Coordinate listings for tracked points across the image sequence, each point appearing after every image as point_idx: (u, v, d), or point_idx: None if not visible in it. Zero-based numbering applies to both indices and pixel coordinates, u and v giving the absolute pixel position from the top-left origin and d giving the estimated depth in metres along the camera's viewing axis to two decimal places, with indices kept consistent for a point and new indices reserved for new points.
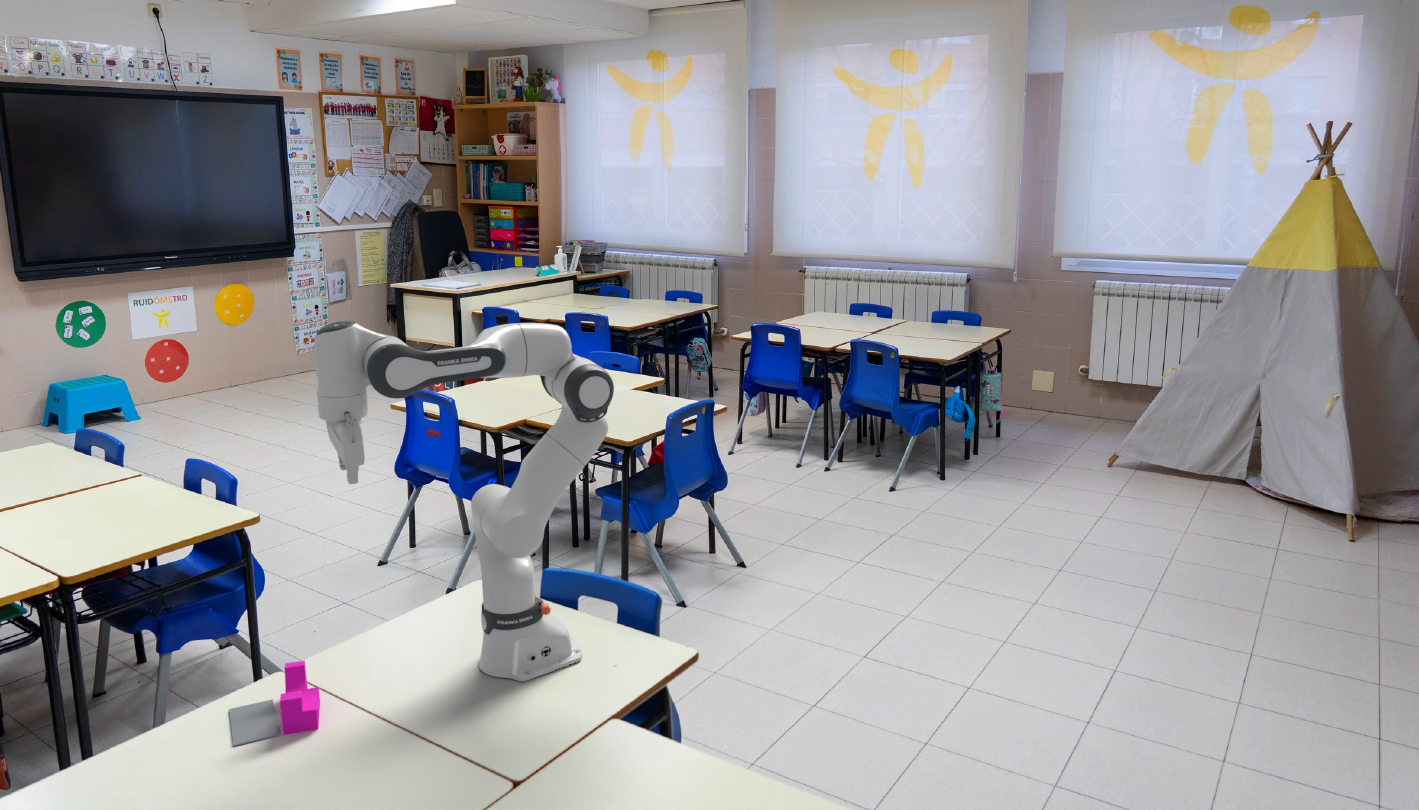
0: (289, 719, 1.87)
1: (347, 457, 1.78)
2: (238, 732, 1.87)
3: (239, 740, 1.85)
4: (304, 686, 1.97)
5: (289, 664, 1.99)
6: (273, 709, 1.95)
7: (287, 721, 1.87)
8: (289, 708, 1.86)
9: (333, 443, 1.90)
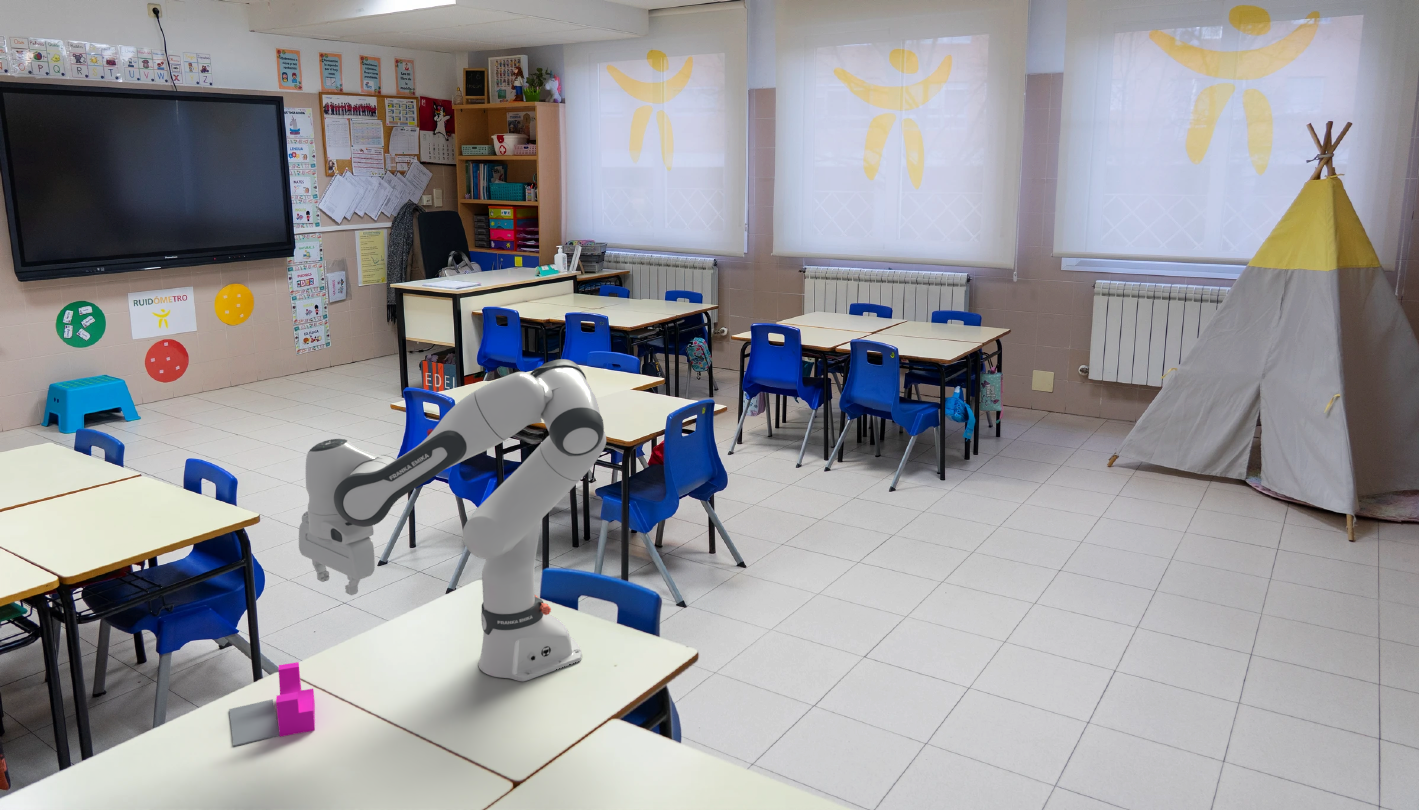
0: (285, 721, 1.86)
1: None
2: (238, 732, 1.87)
3: (239, 740, 1.85)
4: (298, 688, 1.97)
5: (283, 666, 1.98)
6: (273, 709, 1.95)
7: (283, 723, 1.86)
8: (285, 710, 1.86)
9: None
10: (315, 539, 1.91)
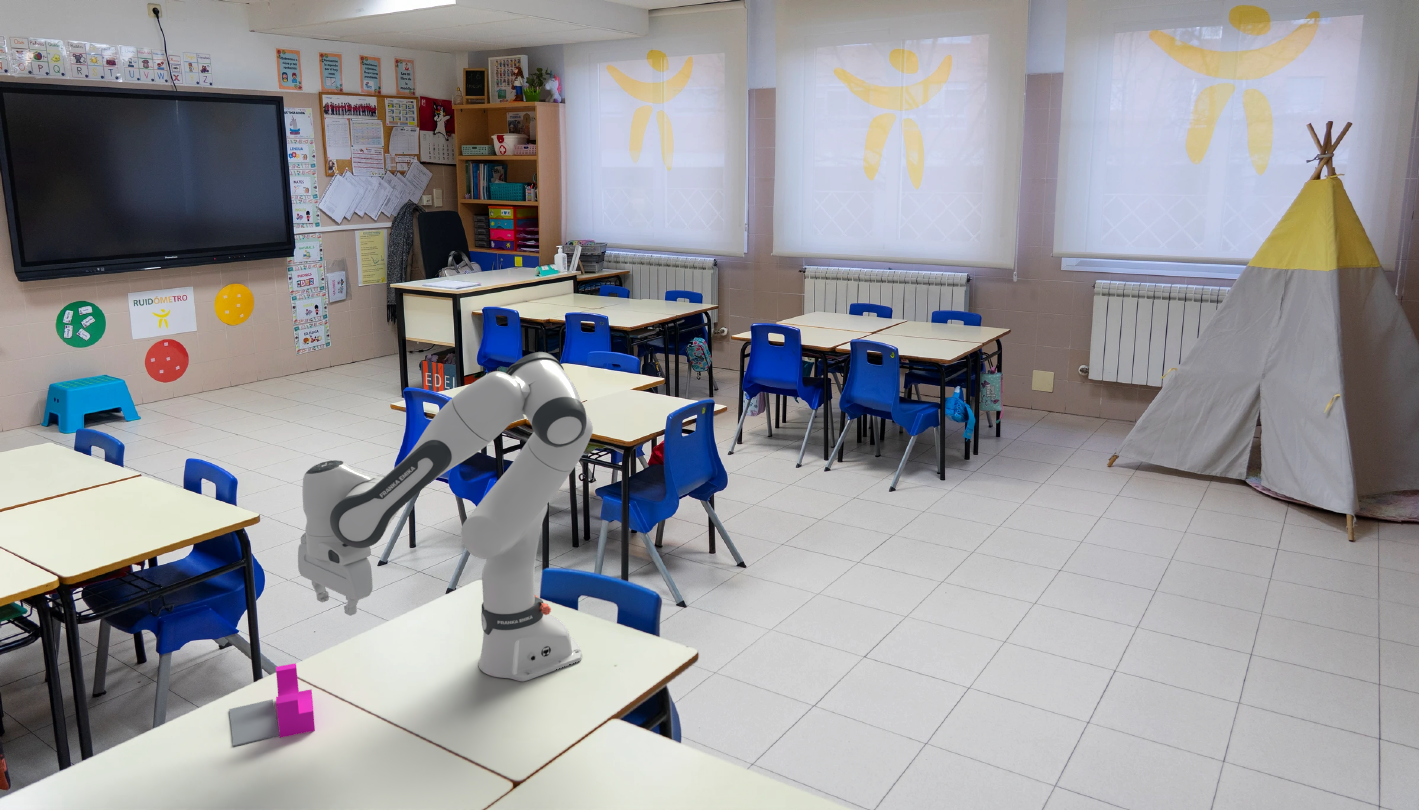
0: (285, 722, 1.86)
1: None
2: (238, 732, 1.87)
3: (239, 740, 1.85)
4: (297, 689, 1.96)
5: (280, 667, 1.97)
6: (273, 709, 1.95)
7: (283, 724, 1.86)
8: (285, 711, 1.86)
9: None
10: (314, 560, 1.93)
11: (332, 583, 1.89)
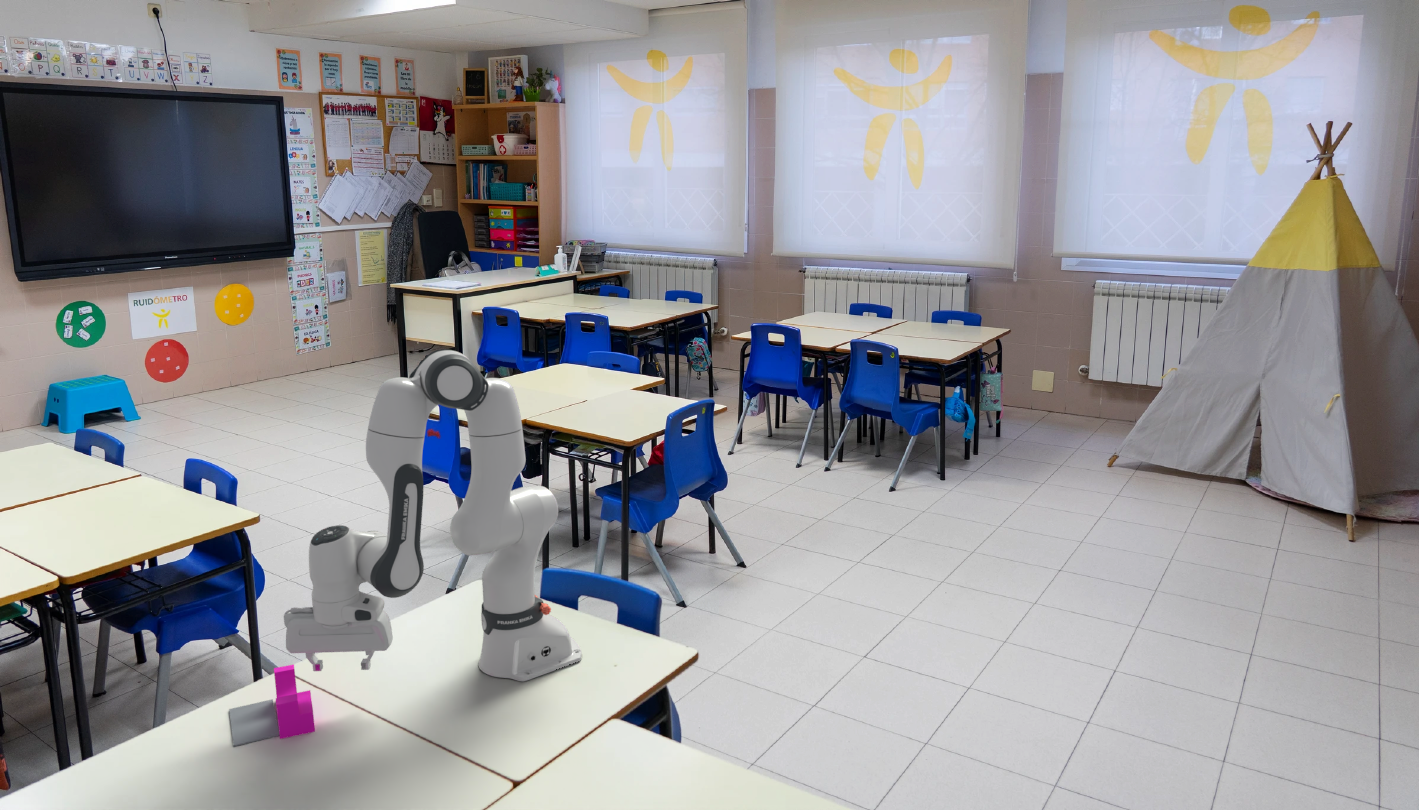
0: (285, 723, 1.86)
1: None
2: (238, 732, 1.87)
3: (239, 740, 1.85)
4: (295, 690, 1.96)
5: (278, 669, 1.97)
6: (273, 709, 1.95)
7: (283, 725, 1.86)
8: (285, 712, 1.85)
9: None
10: (315, 631, 1.93)
11: (348, 644, 1.94)
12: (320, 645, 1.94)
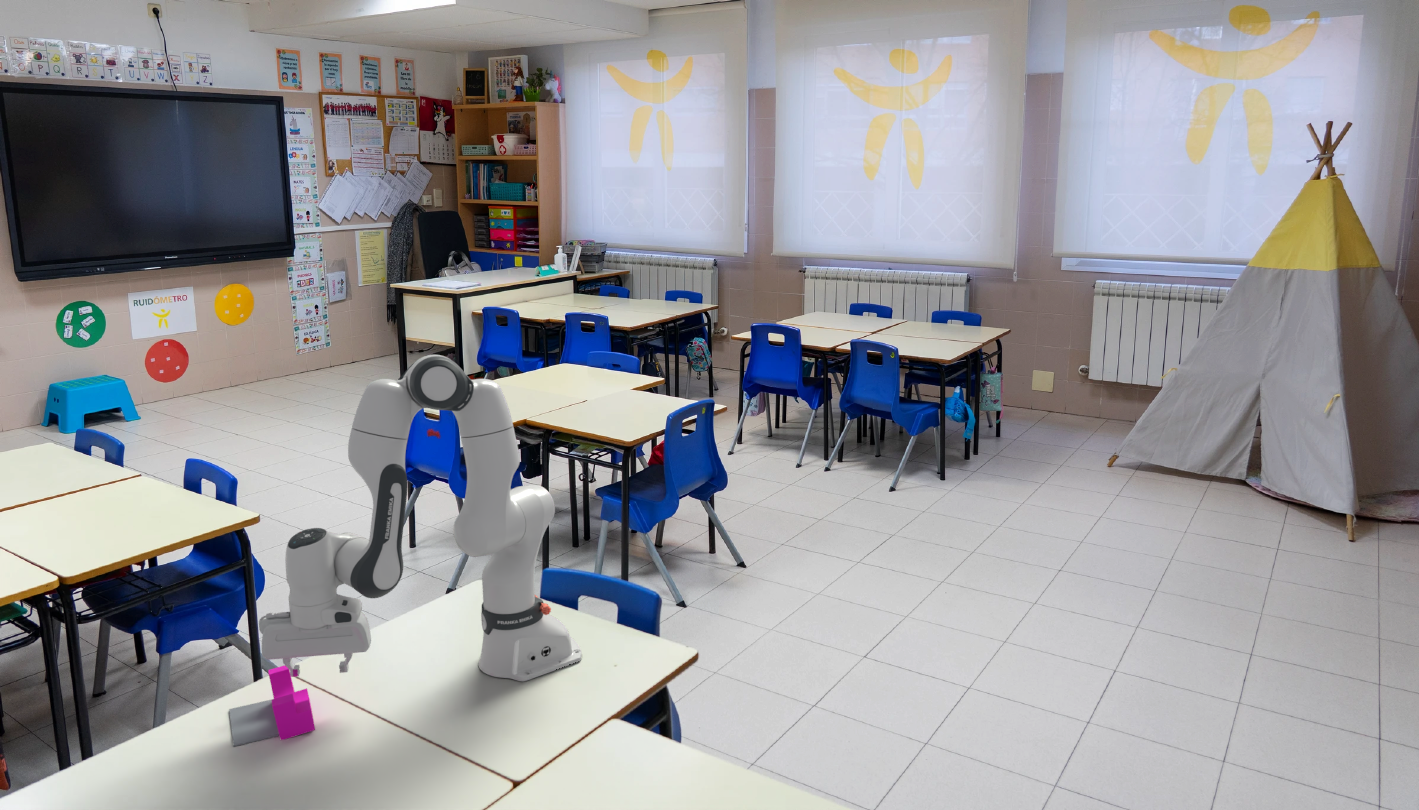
0: (284, 723, 1.85)
1: None
2: (238, 732, 1.87)
3: (239, 740, 1.85)
4: (292, 689, 1.95)
5: (273, 670, 1.96)
6: None
7: (282, 725, 1.85)
8: (283, 712, 1.84)
9: None
10: (292, 635, 1.91)
11: (327, 647, 1.93)
12: (298, 650, 1.92)
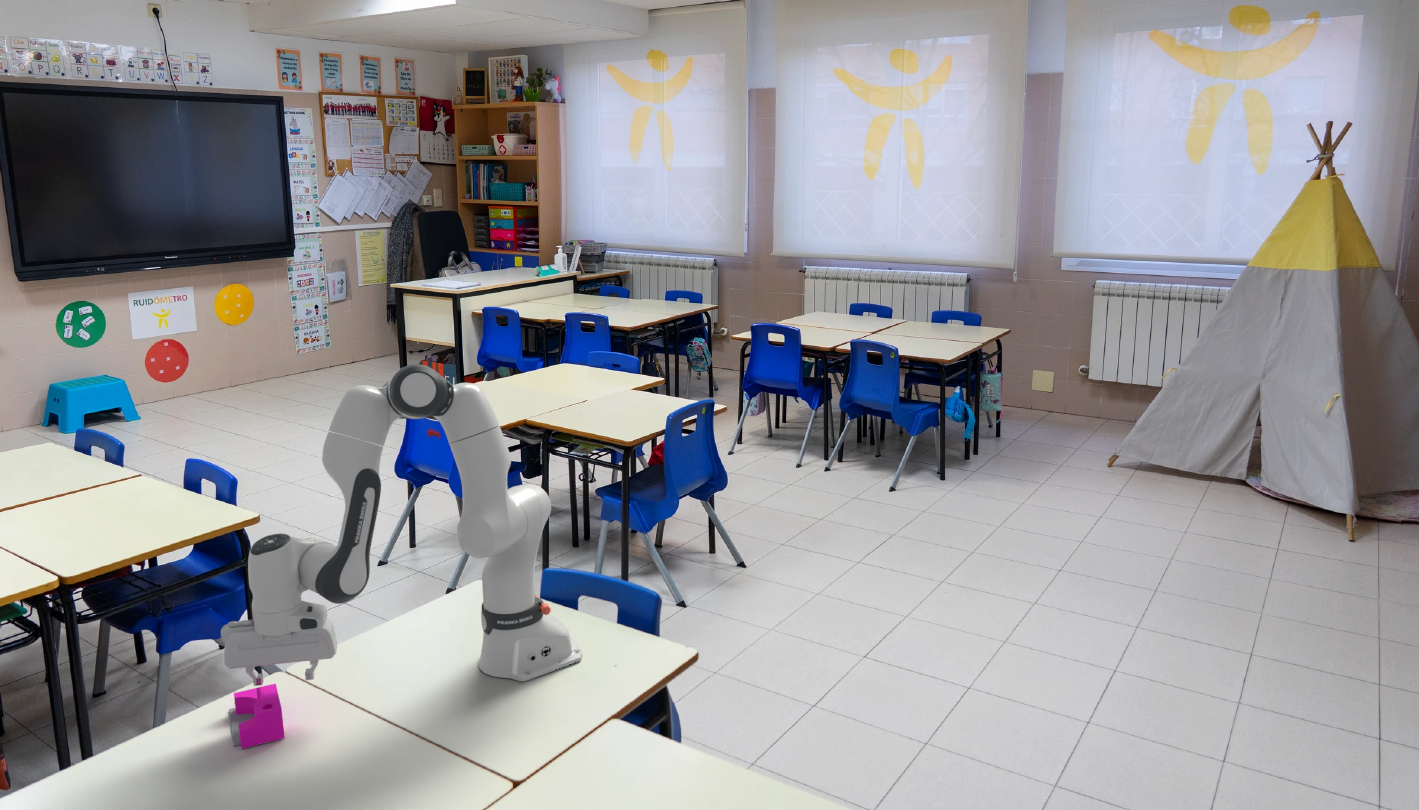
0: (265, 736, 1.84)
1: None
2: (238, 732, 1.87)
3: (239, 740, 1.85)
4: (255, 699, 1.92)
5: (235, 707, 1.94)
6: None
7: (267, 737, 1.84)
8: (251, 738, 1.83)
9: None
10: (256, 643, 1.88)
11: (292, 655, 1.90)
12: (262, 658, 1.88)
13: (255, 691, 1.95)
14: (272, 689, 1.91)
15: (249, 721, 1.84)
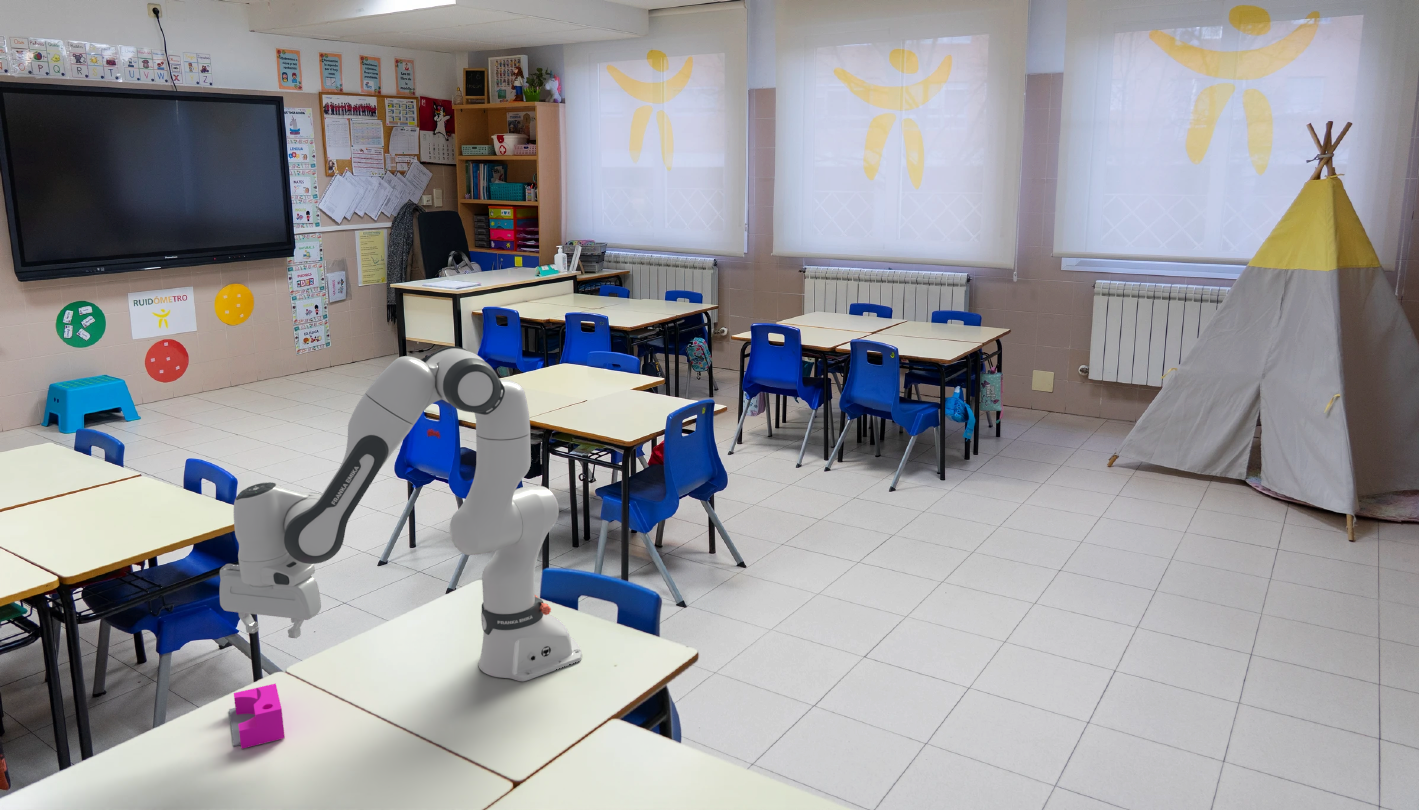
0: (265, 736, 1.84)
1: None
2: (238, 732, 1.87)
3: (239, 740, 1.85)
4: (255, 699, 1.92)
5: (235, 707, 1.94)
6: None
7: (267, 737, 1.84)
8: (251, 738, 1.83)
9: None
10: (244, 590, 1.86)
11: (273, 608, 1.85)
12: (249, 606, 1.86)
13: (255, 691, 1.95)
14: (272, 689, 1.91)
15: (249, 721, 1.84)
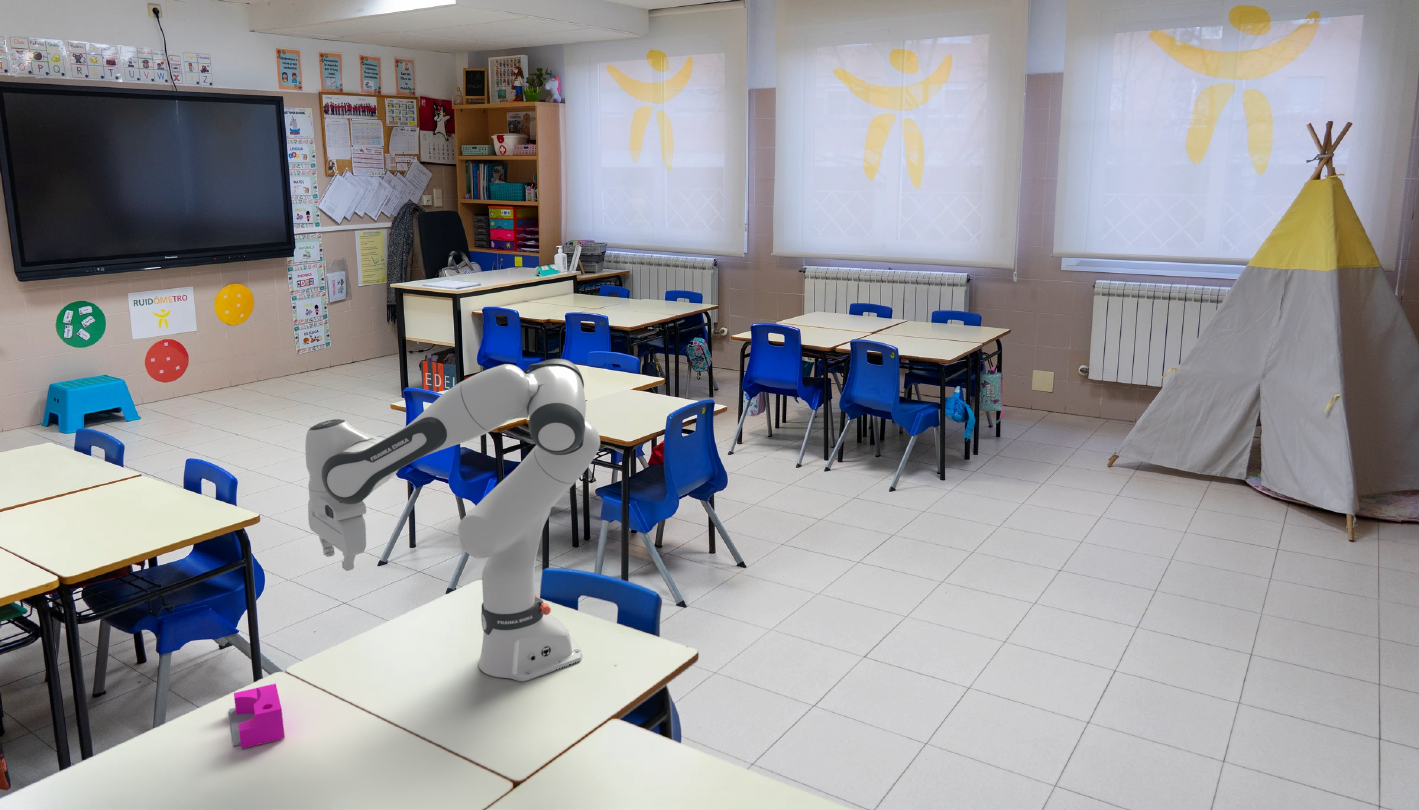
0: (265, 736, 1.84)
1: None
2: (238, 732, 1.87)
3: (239, 740, 1.85)
4: (255, 699, 1.92)
5: (235, 707, 1.94)
6: None
7: (267, 737, 1.84)
8: (251, 738, 1.83)
9: None
10: None
11: (331, 538, 1.96)
12: (320, 530, 1.99)
13: (255, 691, 1.95)
14: (272, 689, 1.91)
15: (249, 721, 1.84)
